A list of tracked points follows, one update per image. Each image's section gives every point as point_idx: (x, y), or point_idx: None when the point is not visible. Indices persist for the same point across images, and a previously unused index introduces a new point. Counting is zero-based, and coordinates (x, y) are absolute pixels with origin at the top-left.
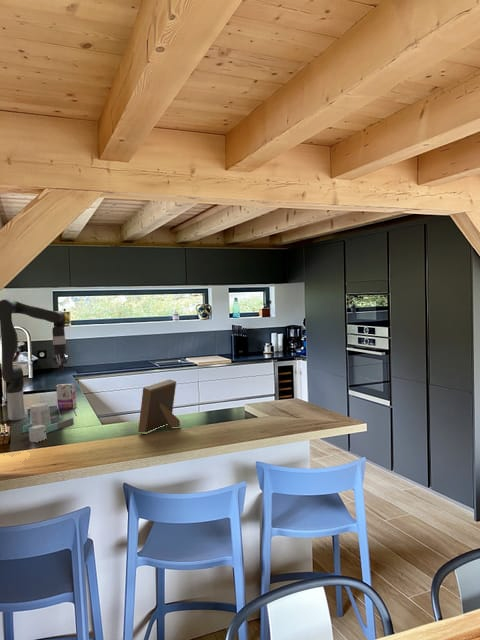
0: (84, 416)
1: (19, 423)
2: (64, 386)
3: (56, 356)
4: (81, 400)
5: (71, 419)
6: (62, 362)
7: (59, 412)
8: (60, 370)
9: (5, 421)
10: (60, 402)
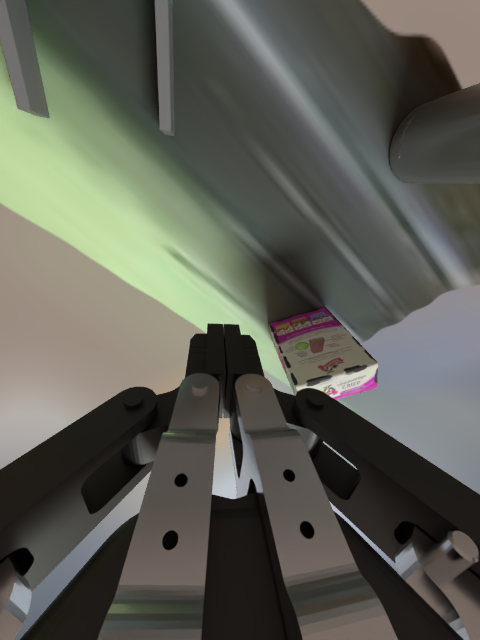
0: (122, 248)
1: (354, 56)
2: (328, 371)
3: (345, 621)
4: None
5: (16, 93)
6: (111, 419)
7: (288, 275)
8: (213, 324)
9: (458, 80)
10: (324, 322)
